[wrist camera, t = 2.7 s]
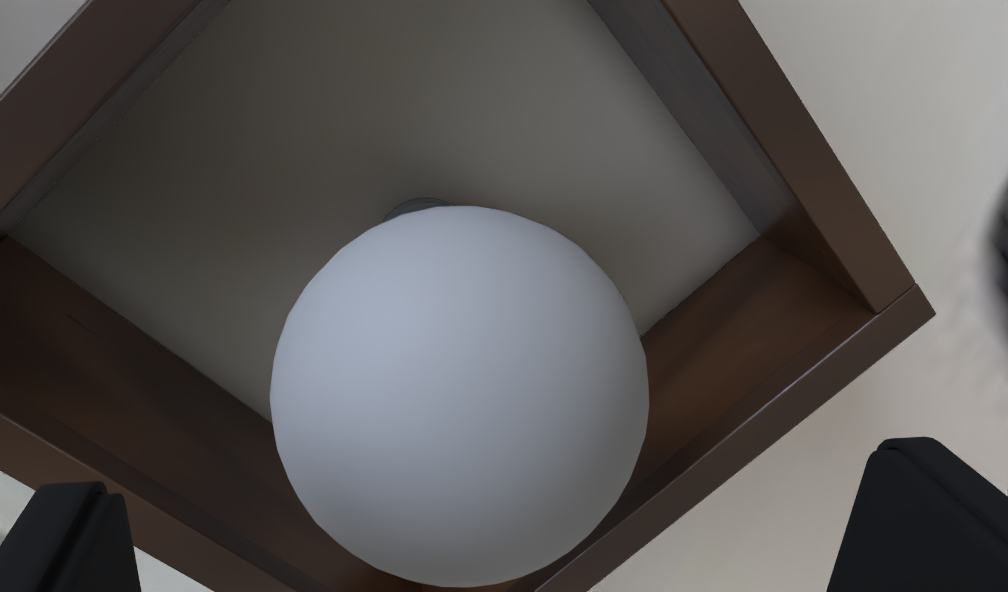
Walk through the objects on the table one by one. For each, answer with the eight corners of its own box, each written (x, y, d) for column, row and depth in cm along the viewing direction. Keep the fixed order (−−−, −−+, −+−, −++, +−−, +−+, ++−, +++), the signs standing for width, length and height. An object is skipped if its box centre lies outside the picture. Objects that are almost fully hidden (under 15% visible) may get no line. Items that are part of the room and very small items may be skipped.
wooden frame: (-56, 234, 17) (-229, 343, 12) (432, -289, 15) (472, -425, 10) (415, 558, 24) (431, 715, 19) (801, 235, 21) (938, 314, 16)
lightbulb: (519, 339, 21) (665, 665, 11) (302, 334, 20) (249, 700, 10) (549, 129, 19) (769, 305, 9) (304, 107, 17) (238, 286, 7)
